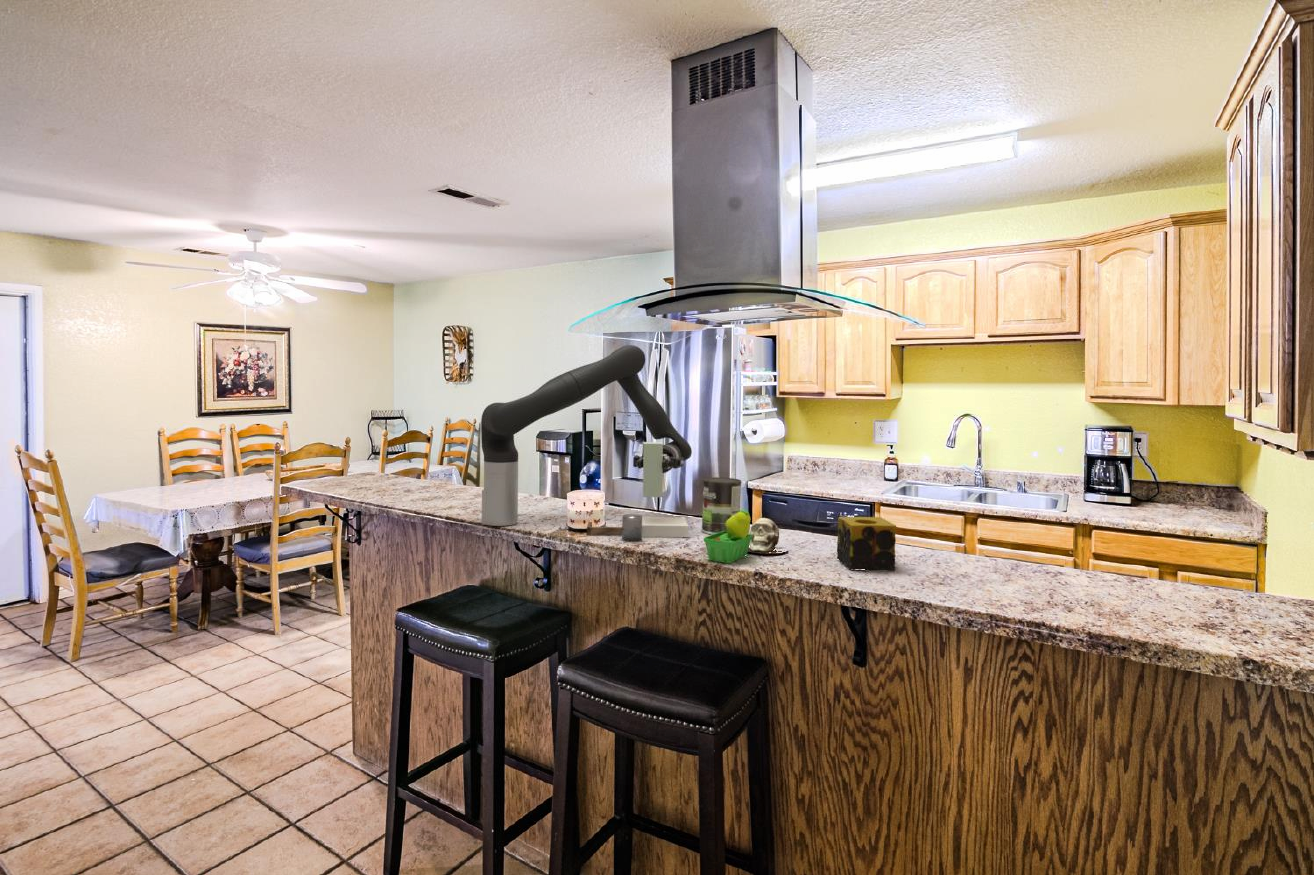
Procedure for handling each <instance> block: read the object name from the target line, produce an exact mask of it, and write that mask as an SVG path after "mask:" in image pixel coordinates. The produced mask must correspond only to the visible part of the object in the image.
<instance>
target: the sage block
mask: <svg viewBox="0 0 1314 875" xmlns="http://www.w3.org/2000/svg"><path fill="white" fill-rule="evenodd" d="M663 445H664V444H663V442H662V441H643V446H642V447H643V449H642V453H643V457H642V458H643V468H642V471H643V474H642V479H643V480H642V486H643V487H642V491H643V492H642V493H643V494H642V497H643V498H663V474H664V473H663V469H662V461H663Z"/></svg>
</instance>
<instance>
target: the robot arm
mask: <svg viewBox="0 0 1314 875" xmlns="http://www.w3.org/2000/svg"><path fill="white" fill-rule="evenodd" d="M645 364H646V354H645V352H644V351H643V349H641V348H640V347H638V346H636V345H632V344H627V345H626V344H625V345H623V346H620V347H619V348H618V349H615V350H614V351H612V352H611V353H610V354H609V355H607V356H605V357H604V358H602V359H600V360H598V361H594V362H591V363H588V364H584V365H582V366H579V367H576V368H574V369H573V368H572V369H571V370H569V371H566V372H563V373H561V374H559V375H557V376H555V377H553V378H551V379H549V380H548V381H546V382H545V383H543V384H542V385H541V386H540V387H538V388H537V389H536V390H535V391H533V392H531V393H530V394H528V395H526V396H523V397H520V398H517V399H514V400H511V401H508V402H493V403H490V404H488V405H487V406H486V407H485V408H484V410H483V411H482V414H481V420H480V421H481V422H480V430H481V431H480V436H481V437H480V438H481V439H480V440H481V441H480V442H481V449H482V451H481V452H482V454H483V489H482V490H481V525H483V526H484V525H487V526H494V527H501V526H502V527H503V526H505V527H506V526H513V525H516V524H518V523H519V522H518V521H519V520H518V519H519V518H518V517H519V513H518V512H519V452H518V449H517V447H516V446H515V435H516V434H518V433H519V432H521V431H523V430H524V429H526V427H528V426H530V425H532V424H533V423H535V422H537V421H539V420H541V419H543V418H544V417H547V416H551V415H553V414H556V413H557V412H560V411H563V410H564V409H566V408H570V407H572V406H573V405H576V404H577V403H580V402H582V401H583V400H585V399H587V398H589V397H591V396H592V395H594V394H596V393H597V392H599V391H600V390H602V389H603V388H605V387H607V386H609V385H610V384H612V383H613V382H614V383H615V381H616V382H617V383H618V385H620V387H621V388H622V389H623V391H624V392H625V394H626V395H627V396H628V397H629V399H630V401H631V402H632V404H633V405H634V407H635V408H636V410H637V411H638V413H639V415H640V416H641V418H642V420H643V421H644V424H645V426H646V427H647V429H648V431H649V433H650V434H651V436H652V438H653V439H654V440H662V439H670V440H672V441H670V442H668V443H666V444H663V461H662V469H663V474H666V473H668V472H670V471H672V470H673V469H675V470H677V469H679V468H682V467H684V462H685V461H686V460H689V459H690V458H691V457H692V453H693V449H692V446H691V445H690V443H689V442H688V441H687V440H686V439H685V438H684V437H683V436H682V435H681V434H680V433H679V432H678V430H676V428H675V426H674V425H673V423H672V422H671V419H670V418H669V416H668V415H667V412H666V411H665V409H664V408H663V406H662V404H660V402H659V401H658V400H657V399H656V398H655V397H654V396H653V395H652V394H651V392H649V390H648V389H647V388H646V387H645V385H644V383H642V381H641V379H640V377H639V375H638V374H639V373H640V372H641V371H642V370H643V368H644V367H645ZM632 462H633V463H632V467H633V468H638V469H643V457H641V455H638V454H637V455H634V456H633V458H632Z"/></svg>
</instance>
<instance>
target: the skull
mask: <svg viewBox="0 0 1314 875" xmlns="http://www.w3.org/2000/svg"><path fill="white" fill-rule="evenodd" d="M749 534H752V535H753V537H752V539H751V541H750V548H748V551H747V552H748V553H749V552H751V553H755V554H761V555H762V554H767V555H768V554H771V555H775V554H778V553H776V552H777V551H776V550H775V551H773V550H774V549H775V548H776V546H777V545H778V544H779V539H780V529H779V527H778V526H777V525H776V523H775V522H774V521H773V520H772V519H770V518H766V517H760V518H758V519H756V520H755V521H754V522H753V524H752V525H751V526H750V532H749ZM769 552H771V553H769ZM778 552H782V551H778ZM786 553H788V552H787V551H786Z"/></svg>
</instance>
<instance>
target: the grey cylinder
mask: <svg viewBox="0 0 1314 875" xmlns="http://www.w3.org/2000/svg"><path fill="white" fill-rule="evenodd" d="M621 517H622V519H621V521H622V522H621V523H622V524H621V527H622V536H621V541H623V542H630V543H635V542H641V541H642V539H643V537H642V517H643V515H642V514H638V513H636V514H635V513H628V514H627V513H626V514H623V515H622V516H621Z"/></svg>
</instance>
